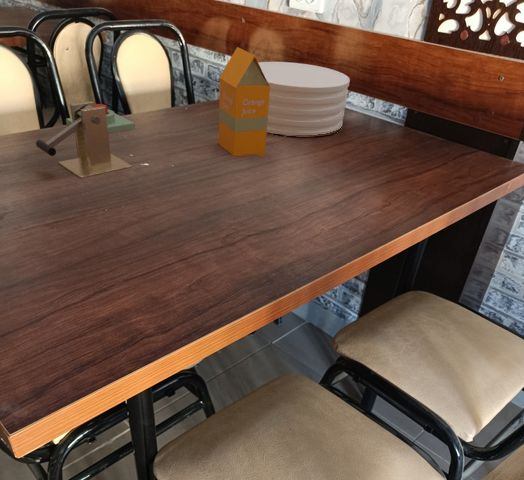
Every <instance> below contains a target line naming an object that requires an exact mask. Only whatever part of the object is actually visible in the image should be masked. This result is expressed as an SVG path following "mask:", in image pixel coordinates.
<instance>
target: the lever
mask: <svg viewBox="0 0 524 480" xmlns="http://www.w3.org/2000/svg"><path fill="white" fill-rule="evenodd" d="M88 108H94V107H92V106H90V105H87V106H86V107H85V108H83V109H88ZM77 114H78V116H79V119H77V120H76V121H75V122H73V123H72V124H71V125H69V126H68V127H67V126H66V127H65V128H63V129H62V130H61V131H59V132H58V133H57V134H55V135H54V136H53V137H51V138H49V140H48V141H46V142H45V141H43V140H42V139H38V140H36V141H35V146H36V147H37V148H38V149H40V150H41V151H43V152H44V153H45V154H47V155H48V156H51V157H54V156H55V155H56V154H57V150H56V148H55V147H56V146H58V145H59V144H61V143H62V142H63V141H64V140H66V139H67V138H68V137H70V136H71V135H73V134H74V132H75V131H77V130H78V129H79V128H81V127H82V126H83V124H82V117H81V110H80V111H79V112H78V113H77Z"/></svg>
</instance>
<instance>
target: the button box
mask: <svg viewBox="0 0 524 480" xmlns="http://www.w3.org/2000/svg"><path fill="white" fill-rule="evenodd" d="M107 112H108V114H107V115H106V119H107V128H108V134H112V133H119V132H124V131H131V130H135V129H136V123H135V122H133V121H131V120H130V119H127V118H126V117H123V116H121V115H119V114H118V113H115V111H114V110H111V109H108V108H107ZM65 122H66V127H68V126H69V125H71V124H72V123H73V121H72V117H68V118H65Z"/></svg>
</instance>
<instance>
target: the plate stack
mask: <svg viewBox="0 0 524 480" xmlns="http://www.w3.org/2000/svg"><path fill="white" fill-rule="evenodd" d="M257 62H258V64H259V66H260V68H261V70H262V72H263V74H264V76H265V78H266V80H267V82H268V84H269V85H270V93H269V107H268V123H267V132H270V133H276V134H286V135H318V134H326V133H330V132H333V131H336V130H338V129H340V128H341V127H342V128H343V123H344V122H343V120H344V117H345V109H346V105H347V100H346V99H347V98H348V93H349V90H348V88H349V86H350V81H351V79H350V77H349V76H348V75H346V74H345V73H343V72H340V71H338V70H335V69H331V68H328V67H324V66H319V65H315V64H307V63H300V62H288V61H260V62H259V61H257ZM342 128H341V129H342Z"/></svg>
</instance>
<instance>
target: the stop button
mask: <svg viewBox="0 0 524 480" xmlns="http://www.w3.org/2000/svg"><path fill="white" fill-rule="evenodd" d="M94 104H95V107H105V110H106V115H107V114H108V112H107V109H108V106H107V105H106V104H103V103H94Z"/></svg>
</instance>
